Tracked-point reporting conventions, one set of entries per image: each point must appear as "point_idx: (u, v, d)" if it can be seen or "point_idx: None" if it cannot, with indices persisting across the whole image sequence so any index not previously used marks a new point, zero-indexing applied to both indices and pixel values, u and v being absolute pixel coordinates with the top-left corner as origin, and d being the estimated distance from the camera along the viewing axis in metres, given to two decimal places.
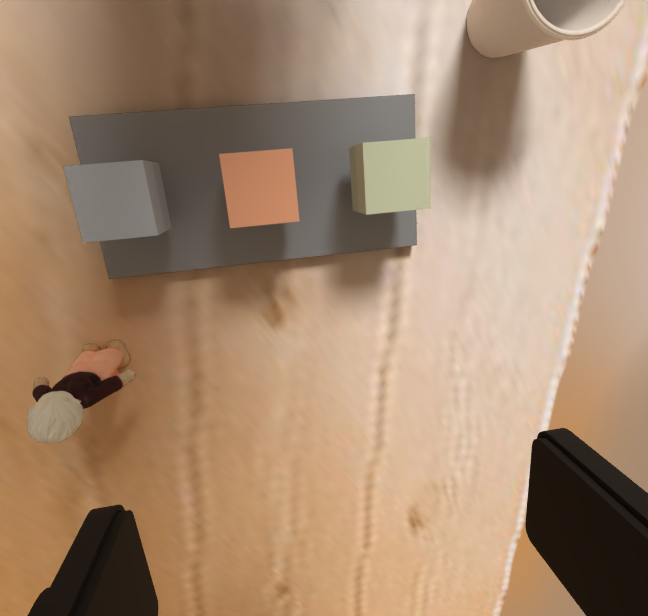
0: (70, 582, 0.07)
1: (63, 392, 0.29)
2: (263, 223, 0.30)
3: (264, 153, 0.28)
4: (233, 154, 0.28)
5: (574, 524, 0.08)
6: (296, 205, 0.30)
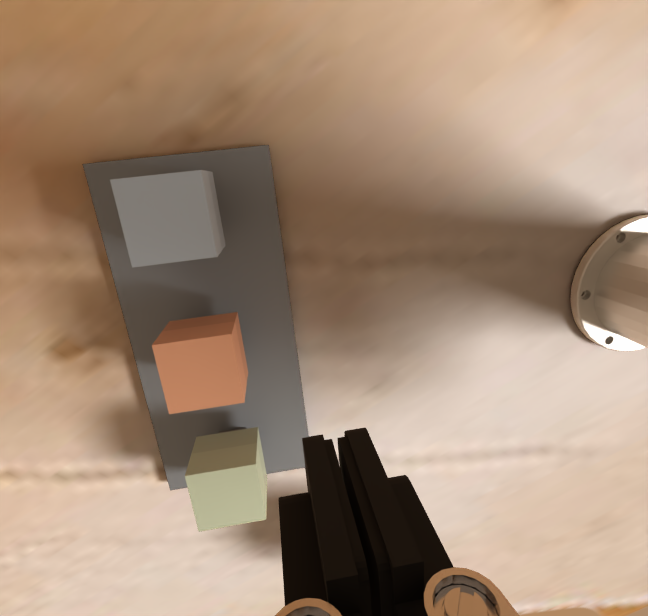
0: (324, 482, 0.08)
1: None
2: (161, 379, 0.27)
3: (236, 377, 0.27)
4: (232, 347, 0.27)
5: None
6: (186, 410, 0.27)
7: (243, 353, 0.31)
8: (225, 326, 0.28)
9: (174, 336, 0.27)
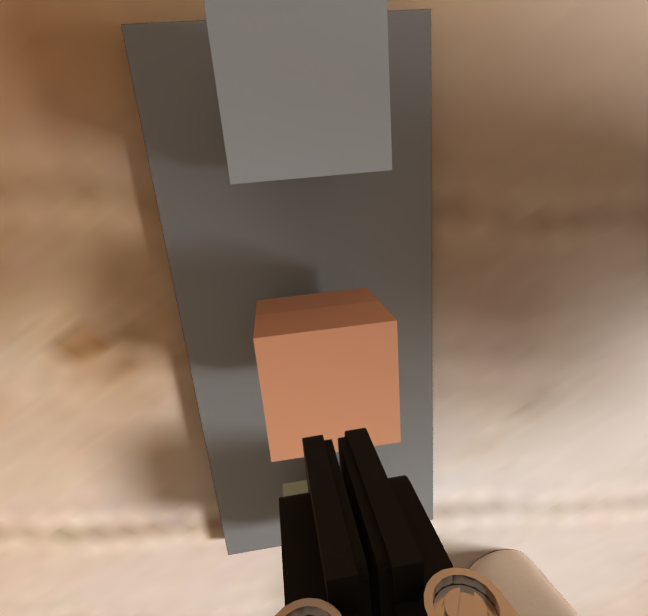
0: (324, 482, 0.08)
1: None
2: (265, 400, 0.15)
3: (394, 398, 0.15)
4: (394, 345, 0.15)
5: None
6: (301, 454, 0.16)
7: None
8: (369, 308, 0.16)
9: (286, 323, 0.15)
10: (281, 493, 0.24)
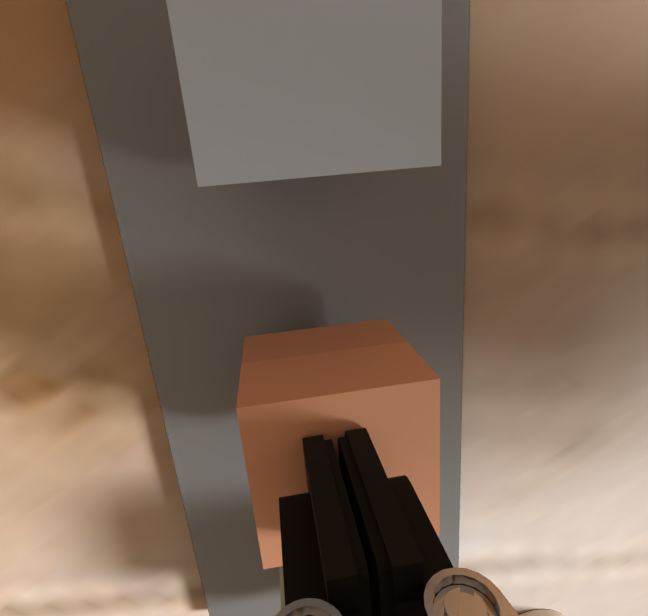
0: (325, 482, 0.08)
1: None
2: (254, 490, 0.10)
3: (432, 480, 0.11)
4: (435, 412, 0.10)
5: None
6: None
7: None
8: (396, 354, 0.12)
9: (283, 380, 0.11)
10: None
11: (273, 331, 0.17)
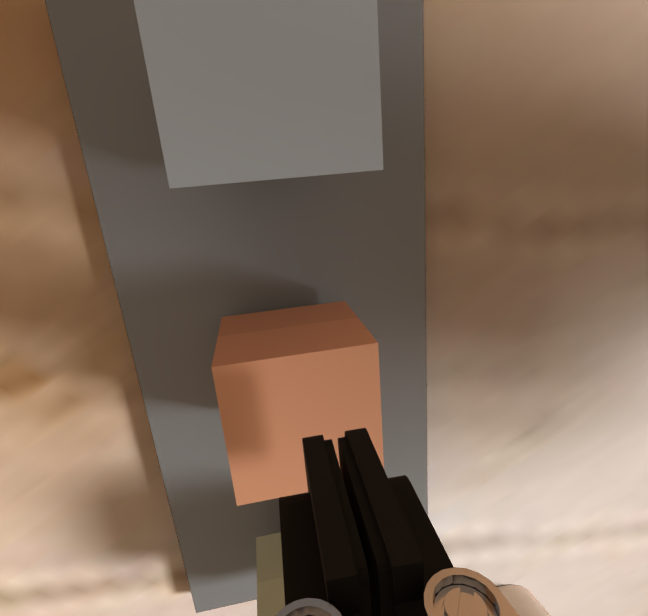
0: (325, 482, 0.08)
1: None
2: (227, 437, 0.13)
3: (376, 429, 0.13)
4: (376, 371, 0.13)
5: None
6: (271, 496, 0.14)
7: None
8: (347, 326, 0.14)
9: (251, 347, 0.13)
10: None
11: None
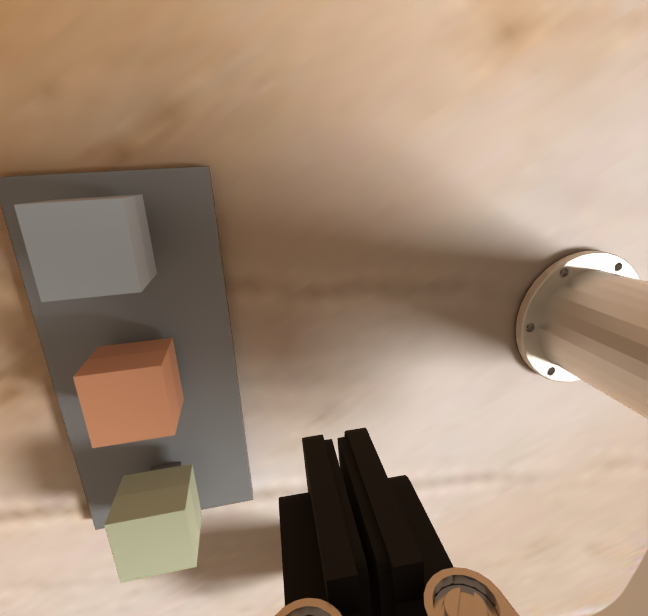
0: (325, 482, 0.08)
1: None
2: (84, 411, 0.25)
3: (166, 409, 0.26)
4: (162, 379, 0.26)
5: None
6: (111, 443, 0.26)
7: (178, 380, 0.30)
8: (156, 355, 0.27)
9: (99, 366, 0.26)
10: None
11: None
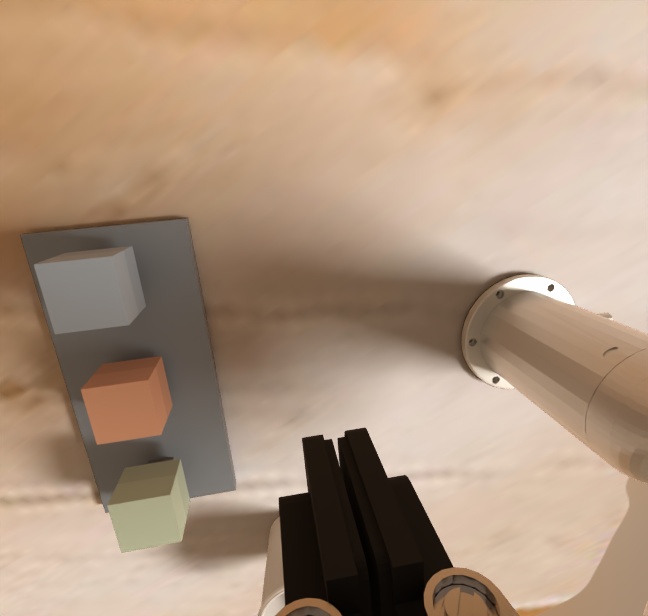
0: (325, 482, 0.08)
1: None
2: (89, 416, 0.32)
3: (153, 414, 0.33)
4: (149, 391, 0.32)
5: None
6: (111, 441, 0.33)
7: (166, 390, 0.37)
8: (146, 371, 0.34)
9: (101, 380, 0.33)
10: None
11: None
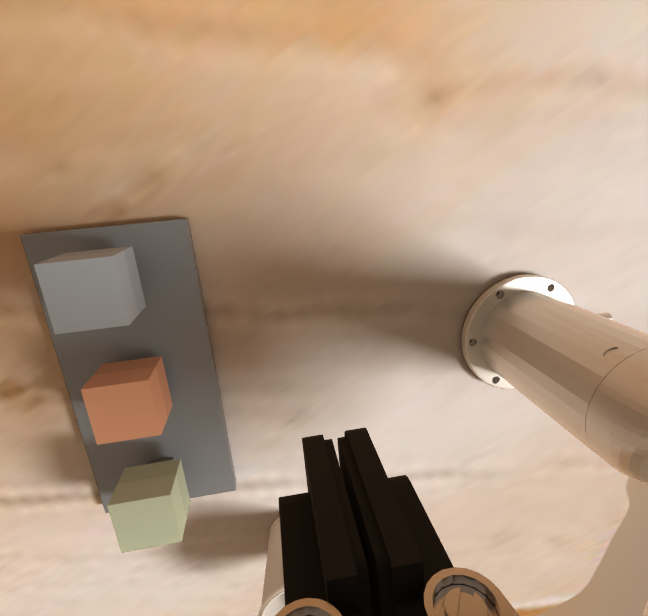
0: (325, 482, 0.08)
1: None
2: (90, 416, 0.32)
3: (153, 414, 0.33)
4: (149, 391, 0.32)
5: None
6: (111, 441, 0.33)
7: (166, 390, 0.37)
8: (146, 371, 0.34)
9: (101, 380, 0.33)
10: None
11: None
